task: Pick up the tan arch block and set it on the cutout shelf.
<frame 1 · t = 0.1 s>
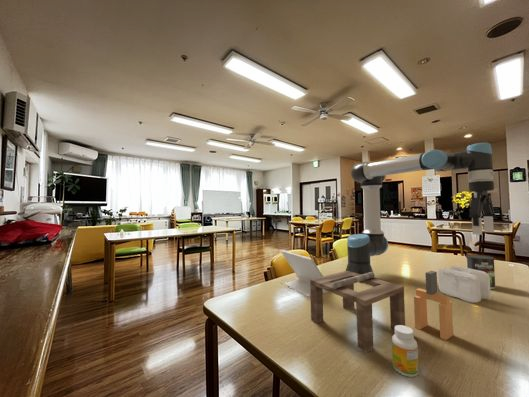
hand: (483, 233, 93), 28 cm above the table, tool pointing down, fingers open, 13 cm apart
supplement bottle: (405, 370, 56), on the table
cutout shelf: (355, 324, 77), on the table
coffee can: (480, 285, 112), on the table
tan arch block: (433, 331, 72), on the table
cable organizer: (464, 297, 98), on the table
tablet stand: (306, 286, 116), on the table
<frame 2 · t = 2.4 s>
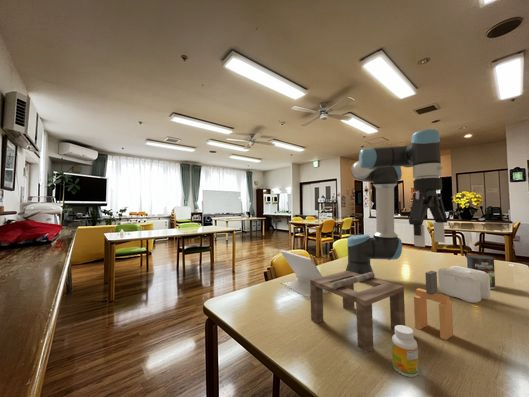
hand: (430, 244, 73), 27 cm above the table, tool pointing down, fingers open, 13 cm apart
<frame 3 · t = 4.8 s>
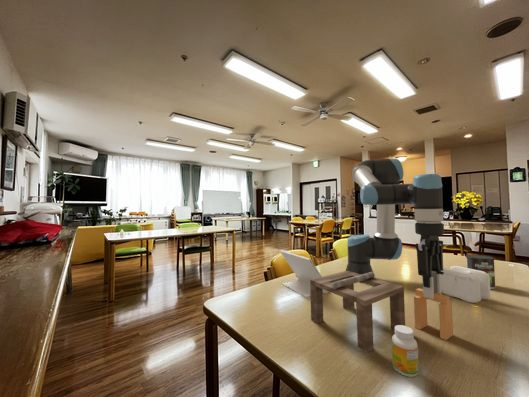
hand: (432, 295, 73), 11 cm above the table, tool pointing down, fingers closed on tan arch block, 4 cm apart
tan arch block: (433, 331, 72), on the table, touching gripper
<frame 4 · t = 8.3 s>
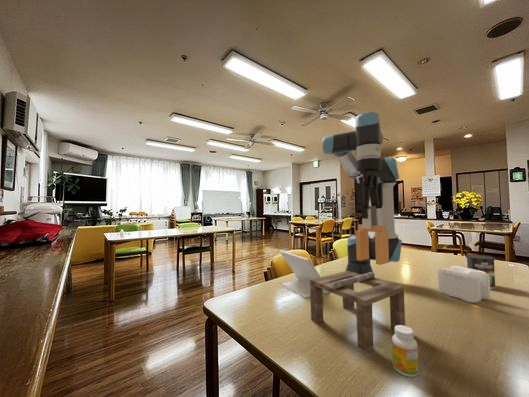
hand: (370, 227, 77), 33 cm above the table, tool pointing down, fingers closed on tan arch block, 4 cm apart
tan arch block: (372, 261, 77), point 22 cm above the table, touching gripper
when the fingers open (19 cm above the table, at t = 12.1 s): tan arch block drops 1 cm, resting on cutout shelf.
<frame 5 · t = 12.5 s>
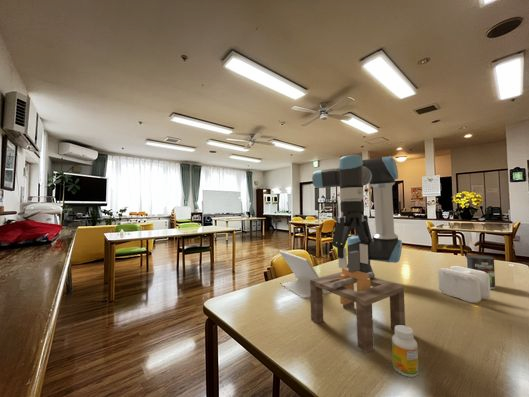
hand: (353, 265, 78), 20 cm above the table, tool pointing down, fingers open, 10 cm apart
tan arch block: (355, 306, 78), point 6 cm above the table, touching cutout shelf
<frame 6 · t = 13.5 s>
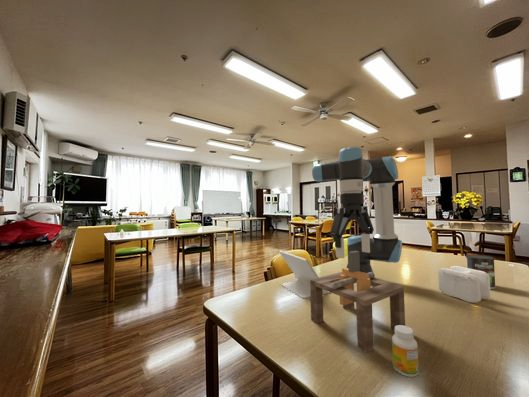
hand: (353, 254, 78), 23 cm above the table, tool pointing down, fingers open, 13 cm apart
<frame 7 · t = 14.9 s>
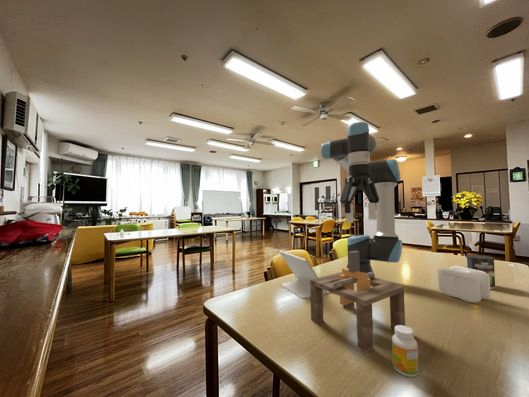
hand: (361, 220, 86), 34 cm above the table, tool pointing down, fingers open, 13 cm apart
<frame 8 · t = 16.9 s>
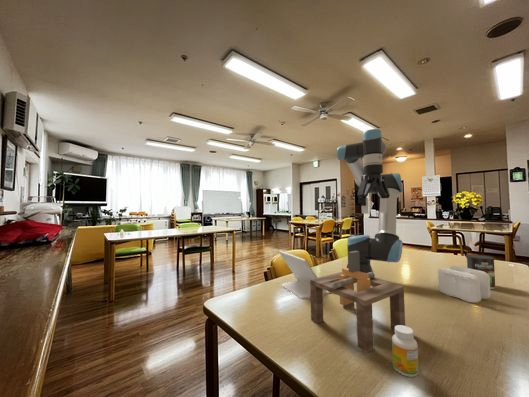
hand: (374, 213, 100), 37 cm above the table, tool pointing down, fingers open, 13 cm apart
at the end: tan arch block 0.2 cm off-centre on the cutout shelf, point 6.0 cm above the cutout shelf's base; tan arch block touching cutout shelf; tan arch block tilted 1° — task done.
